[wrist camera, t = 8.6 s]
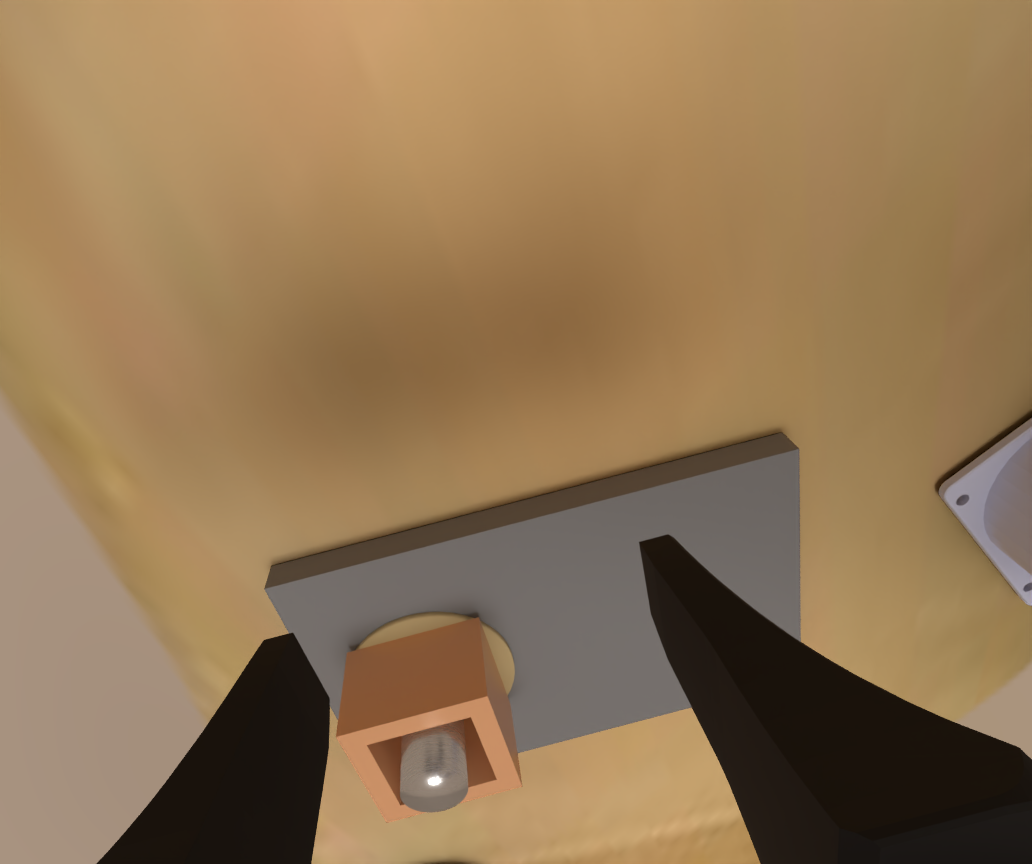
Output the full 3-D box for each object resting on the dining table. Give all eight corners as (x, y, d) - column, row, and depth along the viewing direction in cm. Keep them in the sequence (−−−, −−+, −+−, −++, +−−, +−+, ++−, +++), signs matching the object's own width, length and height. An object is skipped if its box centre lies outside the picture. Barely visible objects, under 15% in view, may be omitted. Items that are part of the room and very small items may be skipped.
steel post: (470, 646, 27) (482, 785, 21) (433, 677, 27) (436, 819, 22) (429, 621, 26) (431, 760, 20) (392, 653, 26) (385, 797, 21)
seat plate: (782, 432, 23) (803, 453, 22) (787, 657, 29) (804, 684, 28) (271, 566, 23) (262, 595, 22) (378, 764, 29) (376, 796, 28)
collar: (478, 617, 24) (487, 696, 21) (510, 704, 26) (522, 786, 23) (346, 652, 24) (335, 736, 21) (390, 736, 26) (386, 822, 23)
